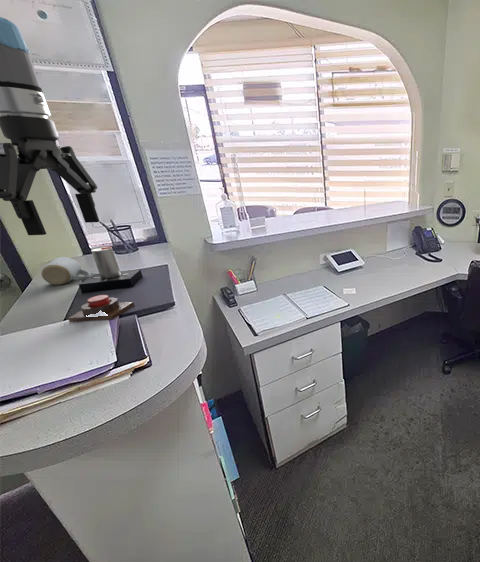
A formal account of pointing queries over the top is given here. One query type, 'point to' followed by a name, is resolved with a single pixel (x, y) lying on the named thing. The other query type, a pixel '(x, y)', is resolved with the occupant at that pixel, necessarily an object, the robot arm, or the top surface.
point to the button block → (111, 309)
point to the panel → (111, 281)
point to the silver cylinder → (106, 262)
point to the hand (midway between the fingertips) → (67, 228)
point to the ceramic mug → (63, 271)
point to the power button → (98, 300)
